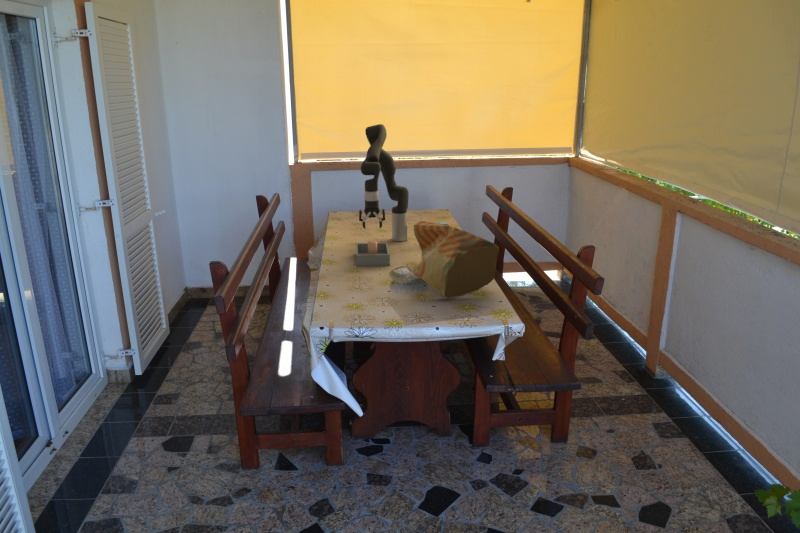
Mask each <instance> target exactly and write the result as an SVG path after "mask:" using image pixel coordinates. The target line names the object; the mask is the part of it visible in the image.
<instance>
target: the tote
mask: <svg viewBox="0 0 800 533" xmlns="http://www.w3.org/2000/svg"><path fill="white" fill-rule="evenodd" d="M388 244H389V243H388V242H377V254H375V255H368V242H366V243H363V242H362V243H358V242H357V243H355V259H356V260H355V262H356V264H355V266H356V267H371V266H372V267H375V266H379V267H380V266H390V265H391V255H390V250H389V245H388Z"/></svg>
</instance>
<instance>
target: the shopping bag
mask: <svg viewBox="0 0 800 533" xmlns="http://www.w3.org/2000/svg"><path fill="white" fill-rule="evenodd" d="M437 223H438V222H431V221H425V220H419V221H418V222H416V223H414V224H413V232H414V236H415V239H416V241H417V243H418V245H419V248H420V250H421V260H420V261H419V264H418V263H414V262H407V263H406V264H405V267H406V269H407V270H408V271H409V272H410V271H411V273H412V274H413V275H414V276H416V277H418V278H419V279H420V280H421V281H423V282H425V283H426V284H428V285H429V286H430V287H431V288H432V289H434V290H435V291H437V292H438V293H439V294H441V295H442V296H444V297H445V298H446V299H452V298H457V297H460V296H464V295H466V294H469V293H473V292H476V291H478V290H480V289H482V288H483V287H485V286H487V285H489V284H490V283H492V282H493V281H494V279H495V272H496V267H497V261H498V255H499V251H500V247H499V246H498V245H497V244H496V243H494V242H492V241H490V240H487V239H485V238H482V237H480V236H477V235H475V234H473V233H471V232H468V231H465V230H462V229H460V228H457V227H456V226H451V225H449V226H446V225H441V224H437Z"/></svg>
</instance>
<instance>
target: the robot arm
mask: <svg viewBox="0 0 800 533" xmlns="http://www.w3.org/2000/svg"><path fill="white" fill-rule="evenodd" d="M364 133H365V136H366V140H367V141H368V144H369V148H368V150H367V152H366V156H365V159H364V160H363V162H362V163H361V166H360V172H361V174H362V175H363V176H373V177H372V178H369V179H366V180H365V181H364V209H359V210H358V220H359V222H361V223H362V228H363V229H364V230H366V220H367V219H368V218H370V219H371V218H372V219H373V218H377V219H378V220H379V222H378V223H379V229H381V228H382V227H383V221H386V212H385V209H384V208H382V209H380V205H379V202H380V201H379V199H380V197H379V195H380V194H379V177H380V173H381V174H382V177H383V180H384V183H385V185H386V186H385V187H386V191H387V194H388V196H389V199H391V200H392V201H395V202H397V205H395V206H393V207H391V240H392V241H393V242H394V241H395V242H405V241H406V242H407V241H408V221H407V220H408V213H407V212H408V208H409V194H410V193H409V189H408V188H407V187H406V186H401V185H397V183H396V180H395V174H396V170H397V167H396V166H397V165H396V163H395V160H394V157H393V156H392V155H391V154H390V153H389V152H388V151H386V150H385V149H383V146H384V144H385V142H386V139H387V135H388V134H387V129H386V127H385V125H384V124H383V123H379V124H375V125H370V126H367V127H366V128H365V132H364ZM380 213H381V215H382V217H381V216H380V215H379V214H380ZM363 214H365V215H364V216H363V218H362V215H363Z"/></svg>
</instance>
